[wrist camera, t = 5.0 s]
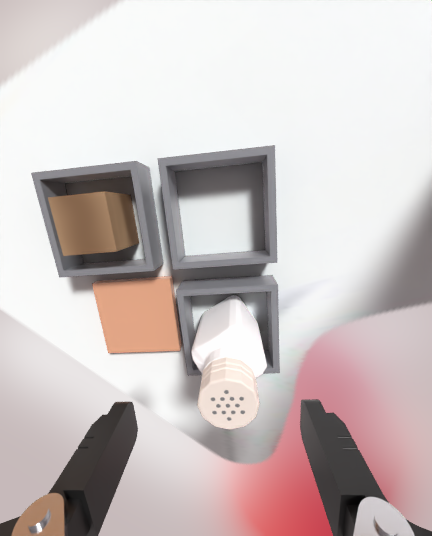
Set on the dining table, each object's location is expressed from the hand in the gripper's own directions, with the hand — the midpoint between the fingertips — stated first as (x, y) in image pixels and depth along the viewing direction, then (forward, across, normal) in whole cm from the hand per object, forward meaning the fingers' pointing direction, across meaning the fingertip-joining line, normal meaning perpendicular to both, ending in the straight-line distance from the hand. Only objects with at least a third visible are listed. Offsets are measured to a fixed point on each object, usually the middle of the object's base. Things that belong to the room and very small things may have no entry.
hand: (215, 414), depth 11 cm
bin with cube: (+10, +9, -9) cm, 16 cm away
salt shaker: (+10, -1, 0) cm, 11 cm away
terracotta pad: (+10, +8, 0) cm, 13 cm away
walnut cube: (+11, +9, -9) cm, 16 cm away
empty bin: (+10, -1, -9) cm, 14 cm away
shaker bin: (+10, -1, 0) cm, 10 cm away
